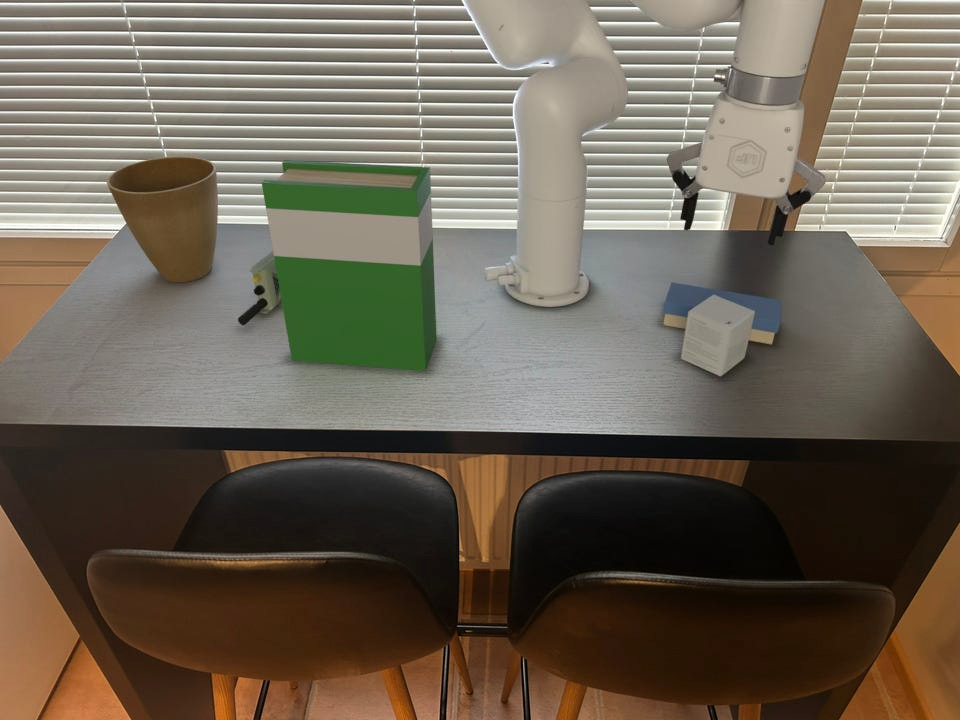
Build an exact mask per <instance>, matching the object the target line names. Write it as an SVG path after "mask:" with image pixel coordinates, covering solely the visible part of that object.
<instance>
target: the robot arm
mask: <svg viewBox="0 0 960 720" xmlns="http://www.w3.org/2000/svg"><path fill="white" fill-rule="evenodd" d="M461 2H462V4H463V6H464V9H466V11H467V13H468V15H469V17H470V18H471V20H472V22H473V24H474V26H475V28H476V31H478V33H479V35H480V38H481V39H482V41H483V42H484V44H485V46H486V48H487V50H488V52H489V53H490V54H491V57H492V58H493V60H494V61H495V62H496V63H497V64H498V65H499V66H500V67H502V68H503V69H505V70H508V71H509V70H510V71H519V70H525V69H529V68H533V67H536V66H538V65H543V64H546V63H548V64H549V66H550V67H547V68H544V69H542V70H540V71H537V72H535V73H533V74H532V75H530V76H529V77H528V78H527V79H525V81H523V82H522V84H520V85H519V88H518V89H517V91H516V93H515V95H514V99H513V103H512V119H513V120H512V121H513V126H514V132H515V138H516V143H517V144H516V148H517V209H516V210H517V211H516V212H517V213H516V214H517V216H516V219H517V220H516V243H515V244H516V246H515V248H516V249H515V254H514V255H510V256H509V262H506V263H504V264H503V265H501V266H490V267H485V268H483V277H484V280H485V282H489V281H497V284H498V286H499V287H504V288H505V291H506V293H508V295H510V296H511V297H512V298H513V299H515V300H517V301H519V302H521V303H524V304H528V305H531V306H537V307H545V308H554V307H555V308H556V307H563V306H564V307H565V306H568V305H573V304H575V303H577V302H579V301H581V300H582V299H583V298H585V296H587V295H588V292H589V291H590V290H589V289H590V280H589V278H588V276H587V275H586V273H584V272H583V271H582V270H581V263H582V261H581V260H582V250H583V239H584V226H585V214H586V203H587V202H586V201H587V191H588V189H587V187H588V165H587V160H586V157H585V153H584V151H583V147H582V138H583V137H585V136H587V135H588V134H590V133H592V132H595V131H598V130H600V129H602V128H605V127H606V126H609V125H610V124H612V123H614V122H615V121H616V120H617V119H619V118H620V116H621V115H622V114H623V112H624V111H625V108H626V106H627V103H628V98H629V86H628V81H627V78H626V75H625V72H624V70H623V67H622V65H621V63H620V61H619V59H618V57H617V55H616V54H615V51H614V49H613V47H612V46H611V44H610V42H609V40H608V38H607V36H606V33H605V32H604V30H603V29H602V27H601V25H600V22H599V21H598V19H597V17H596V15H595V14H594V11H593V10H592V8H591V6H590V5H589V3H588V2H587V0H461ZM629 2H631V3H632V4H634V6H635V7H637V8H638V9H639V10H640V11H641V12H642V13H644V14H645V15H646V16H647V17H649V18H650V19H651V20H653V21H654V22H656V23H657V24H659V25H660V26H662V27H664V28H665V29H669V30H671V31H674V32H681V33H689V32H694V31H697V30H701V29H704V28H707V27H710V26H713V25H717V24H722V23H723V24H724V23H727V22H732V21H739V25H738V30H737V35H736V40H735V44H734V50H733V55H732V59H731V64H730V66H727V68H723V69H721V68H720V69H719V68H716V69H715V72H714V78H713V83H719V84H720V85H723V88H725V90H723V91H721V92H720V93H719V94H717V96H716V98H715V101H714V102H713V105H712V107H711V111H710V114H709V116H708V120H707V123H706V127H705V131H704V134H703V138H702V141H701V142H698V143H695V144H692V145H689V146H685V147H682V148H680V149H677V150H674V151H673V150H672V151H671V152H669V153H668V155H667V157H666V163H667V166H668V168H669V171H670V173H671V179H672V181H673V182H674V184H675V185H676V186H677V187H678V189H679V190H680V191H681V195H682V197H683V201H682V202H683V203H682V207H681V211H680V212H681V213H680V218H679V219H680V221H685V222H684V225H683V231H690V230H691V228H692V226H693V222H694V218H695V215H696V209H697V204H698V199H699V194H700V192H699V191H701V190H702V189H707V190H710V191H715V192H721V193H729V194H735V195H740V196H748V197H752V198H753V197H755V198H760V199H767V200H768V199H769V200H774V202H775V203H776V204H777V205H776V206H775V210H774V214H773V217H772V219H771V225H770V228H769V232H768V237H767V243H766V244H768V246H775V242H776V238H777V237H778V238H779V237H780V238H783V235H784V232H785V228H786V225H787V221H788V218H789V215H791V214H792V213H793V211H795V210H796V209H798V208H800V207H802V206H803V205H805V204H807V203H809V202H810V201H811V199H812V198H813V197H814V196H815V195H816V194H817V193H818V192H819V191H820V190H821V189H822V188H823V187H824V186H825V185H826V181H827V180H826V179H827V178H826V175H825V174H824V173H823V172H822V171H819V170H818V169H817V168H816V167H814V166H812V165H811V164H810V163H808V162H807V161H805V160H804V159H803V158H801V157H800V156H798V152H799V148H800V143H801V139H802V133H803V126H804V117H805V105H804V103H803V101H801V99H800V96H801V94H802V93H801V92H802V88H803V85H804V81H805V78H806V73H807V69H808V66H809V62H810V58H811V56H812V55H811V54H812V51H813V46H814V43H815V40H816V36H817V33H818V28H819V24H820V20H821V17H822V13H823V9H824V6H825V2H826V0H629ZM696 158H698V159H697V164H696V169H695V175H694V176H692V177H690V176H689V174H688V173H687V172H686V170H685V169H684V167H683V163H684V162H688V161H690V160H694V159H696ZM794 173H796V174H797V175H798V176H800V177H801V178H802V179H804V180H805V181H807V183H806V184H805V186H803V187H802V188H800V189H799V190H797V191H794V192H793V193H791V191H790V188H789V187H790V185H791V182H792V179H793V174H794Z"/></svg>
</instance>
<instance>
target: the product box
mask: <svg viewBox="0 0 960 720" xmlns="http://www.w3.org/2000/svg"><path fill="white" fill-rule="evenodd" d="M754 314H755V311H754V310H751V309H748V308H746V307H743V306H741V305H738V304H736V303H733V302H731V301H728V300H726V299H723V298H721V297H719V296H716V295H712V296H711V297H709V298H708V299H706V300H705V301H703V302H702V303H700V304H699V305H697V306H696V307H694V308H693V309H691V310H690V311H688V317H687V323H686V329H684V335H683V340H682V342H683V343H682V348H681V354H680V360H683V361H685V362H687V363H690V364H692V365H694V366H697V367H699V368H700V369H702V370H705V371H707V372H710V373H712V374H714V375H716V376H718V377H722V376H724V375H725V374H726V373H727V372H728V371H731V369H732V368H734V367H735V366H736V365H738V364H739V363H740V362H742V361H743V360H744V359H745V357H746V354H747V353H746V352H747V349H748V346H749V342H750V340H749V336H750V332H751V328H752V323H753V319H754Z"/></svg>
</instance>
